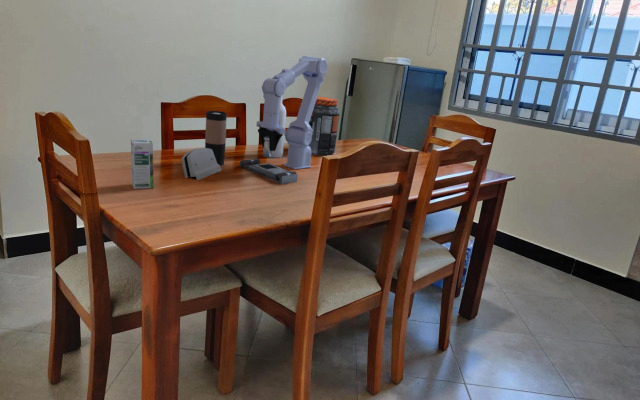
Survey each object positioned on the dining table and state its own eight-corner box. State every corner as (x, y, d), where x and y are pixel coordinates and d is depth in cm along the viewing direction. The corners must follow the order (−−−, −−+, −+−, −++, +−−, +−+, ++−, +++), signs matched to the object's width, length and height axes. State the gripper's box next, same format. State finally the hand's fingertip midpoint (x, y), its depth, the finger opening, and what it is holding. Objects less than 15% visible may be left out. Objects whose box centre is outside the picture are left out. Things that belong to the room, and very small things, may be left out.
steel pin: (268, 154, 166) (270, 136, 164) (274, 157, 163) (277, 139, 161) (259, 154, 163) (262, 136, 161) (265, 157, 161) (268, 139, 158)
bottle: (286, 156, 196) (292, 88, 186) (275, 158, 189) (281, 88, 180) (272, 152, 199) (277, 85, 190) (261, 154, 193) (266, 85, 183)
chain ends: (255, 164, 177) (255, 156, 176) (297, 181, 160) (298, 172, 159) (238, 166, 171) (238, 157, 170) (280, 184, 154) (281, 175, 153)
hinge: (197, 180, 148) (189, 151, 146) (186, 182, 150) (177, 154, 147) (222, 170, 163) (215, 143, 161) (211, 172, 165) (204, 146, 163)
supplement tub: (305, 147, 219) (310, 94, 211) (336, 151, 218) (342, 99, 209) (299, 153, 204) (305, 97, 196) (332, 158, 203) (339, 101, 194)
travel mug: (200, 163, 168) (201, 111, 162) (212, 160, 175) (214, 110, 169) (217, 167, 166) (219, 114, 159) (228, 164, 172) (230, 113, 166)
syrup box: (133, 189, 133) (132, 142, 128) (131, 183, 137) (130, 138, 133) (153, 188, 135) (153, 142, 131) (151, 183, 140) (150, 138, 135)
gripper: (250, 109, 160) (248, 145, 164) (275, 116, 151) (272, 154, 155) (266, 109, 165) (263, 144, 169) (291, 116, 156) (287, 153, 160)
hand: (268, 149), depth 162 cm, fingers closed on steel pin, 4 cm apart
